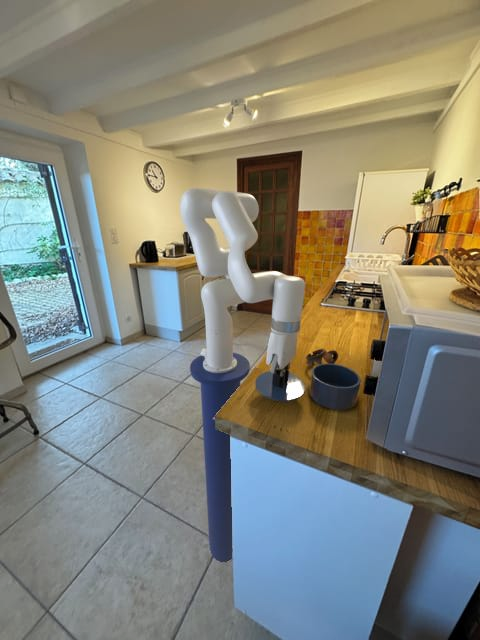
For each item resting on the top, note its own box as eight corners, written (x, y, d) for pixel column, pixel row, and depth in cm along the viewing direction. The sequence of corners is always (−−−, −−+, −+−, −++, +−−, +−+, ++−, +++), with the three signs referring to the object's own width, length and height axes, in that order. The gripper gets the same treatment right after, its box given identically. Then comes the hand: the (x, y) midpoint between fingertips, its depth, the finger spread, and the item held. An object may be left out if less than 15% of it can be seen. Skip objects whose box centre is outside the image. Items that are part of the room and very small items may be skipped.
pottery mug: (325, 381, 83) (314, 358, 83) (307, 379, 92) (298, 358, 91) (349, 364, 88) (339, 342, 87) (330, 363, 96) (321, 344, 96)
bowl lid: (245, 390, 71) (246, 373, 69) (269, 368, 82) (270, 353, 80) (293, 410, 64) (295, 392, 62) (311, 384, 75) (314, 367, 73)
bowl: (302, 399, 74) (305, 378, 71) (317, 378, 84) (319, 359, 82) (351, 416, 67) (355, 394, 64) (360, 391, 77) (364, 371, 75)
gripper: (285, 313, 74) (280, 367, 81) (257, 330, 62) (254, 393, 68) (310, 318, 71) (302, 375, 77) (286, 338, 58) (279, 403, 64)
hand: (280, 383), depth 73 cm, fingers closed on bowl lid, 2 cm apart
